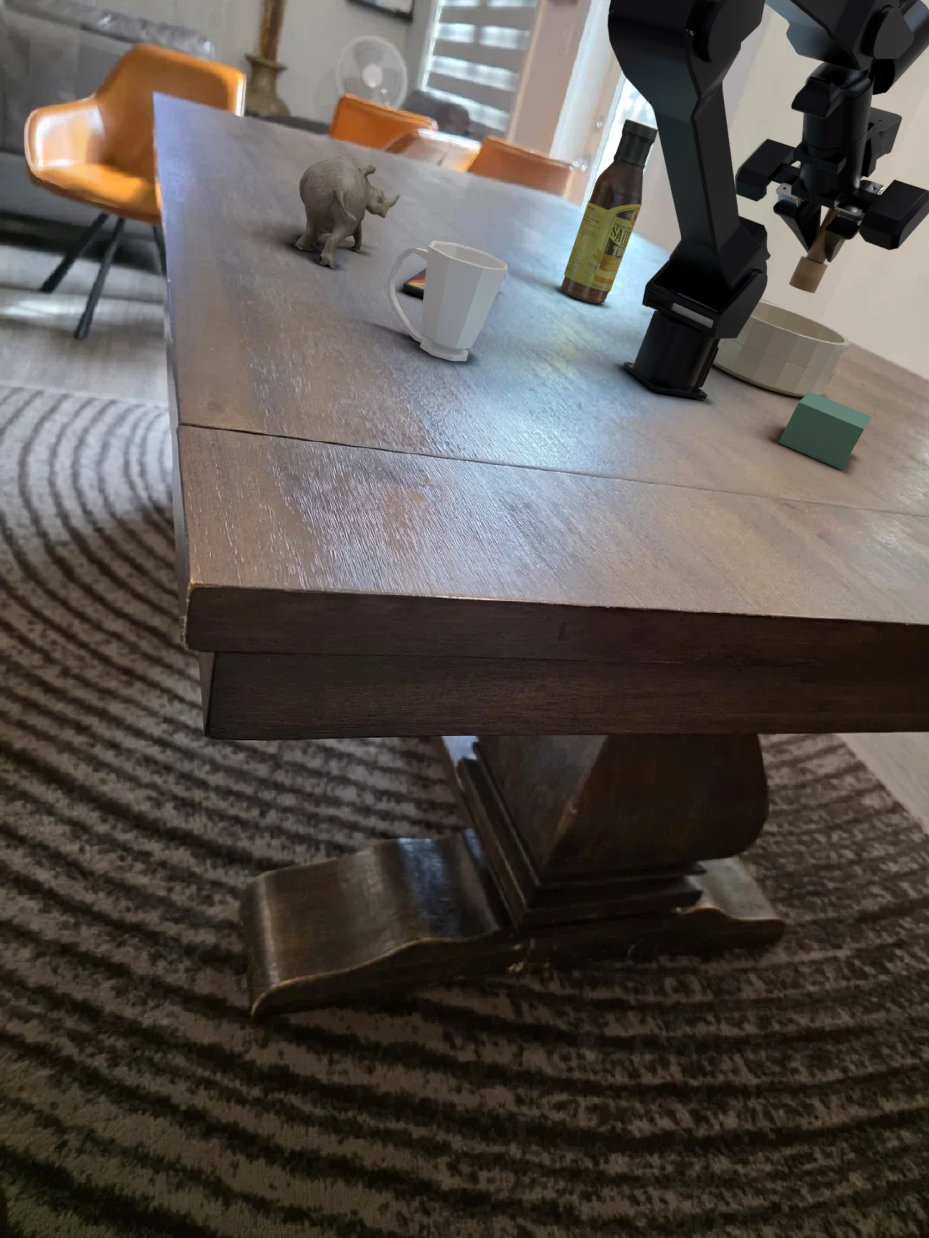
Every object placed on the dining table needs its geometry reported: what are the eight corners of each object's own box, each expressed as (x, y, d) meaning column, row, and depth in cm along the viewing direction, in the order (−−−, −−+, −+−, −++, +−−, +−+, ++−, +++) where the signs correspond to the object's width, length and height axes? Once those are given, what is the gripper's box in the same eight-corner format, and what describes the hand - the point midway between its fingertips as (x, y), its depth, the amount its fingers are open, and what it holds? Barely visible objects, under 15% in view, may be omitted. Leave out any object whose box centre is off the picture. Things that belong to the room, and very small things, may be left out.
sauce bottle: (594, 308, 105) (656, 128, 95) (550, 289, 107) (606, 112, 97) (613, 304, 111) (674, 134, 100) (572, 287, 113) (627, 118, 102)
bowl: (745, 390, 92) (773, 331, 88) (672, 340, 103) (695, 285, 99) (847, 408, 98) (877, 353, 95) (768, 358, 109) (792, 307, 106)
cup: (461, 373, 70) (489, 272, 66) (359, 329, 72) (379, 228, 68) (496, 360, 76) (523, 267, 71) (400, 319, 78) (421, 226, 74)
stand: (778, 442, 78) (798, 401, 76) (789, 430, 83) (809, 391, 81) (841, 470, 77) (864, 429, 75) (849, 455, 82) (871, 416, 79)
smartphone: (401, 283, 86) (434, 261, 98) (399, 291, 86) (433, 268, 99) (472, 305, 85) (496, 280, 98) (470, 314, 86) (494, 288, 98)
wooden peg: (819, 295, 94) (861, 208, 89) (795, 288, 93) (836, 200, 88) (807, 288, 96) (848, 203, 92) (784, 281, 96) (823, 195, 91)
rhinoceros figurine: (256, 220, 83) (322, 86, 84) (282, 284, 97) (339, 167, 98) (330, 254, 83) (395, 119, 84) (345, 312, 97) (401, 196, 98)
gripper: (983, 95, 77) (948, 233, 90) (800, 48, 86) (793, 180, 99) (908, 180, 75) (883, 307, 89) (730, 123, 84) (732, 246, 98)
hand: (822, 255), depth 94 cm, fingers closed on wooden peg, 2 cm apart
